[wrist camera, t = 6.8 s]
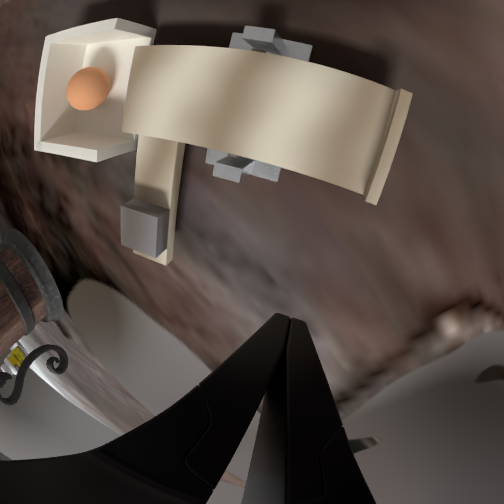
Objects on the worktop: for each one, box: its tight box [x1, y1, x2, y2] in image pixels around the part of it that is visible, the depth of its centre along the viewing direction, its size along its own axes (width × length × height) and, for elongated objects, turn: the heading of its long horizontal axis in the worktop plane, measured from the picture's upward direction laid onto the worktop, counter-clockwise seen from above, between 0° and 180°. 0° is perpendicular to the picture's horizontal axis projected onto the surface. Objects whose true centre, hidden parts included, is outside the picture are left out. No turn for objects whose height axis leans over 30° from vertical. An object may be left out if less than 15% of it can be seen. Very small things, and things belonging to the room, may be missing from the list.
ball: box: [66, 67, 110, 110], centre depth 15 cm, size 4×4×4 cm
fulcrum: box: [205, 26, 313, 183], centre depth 14 cm, size 5×9×3 cm, turn 167°
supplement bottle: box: [1, 345, 28, 375], centre depth 50 cm, size 5×5×10 cm
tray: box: [34, 18, 157, 162], centre depth 15 cm, size 8×10×4 cm
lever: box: [121, 45, 412, 265], centre depth 15 cm, size 16×15×2 cm
